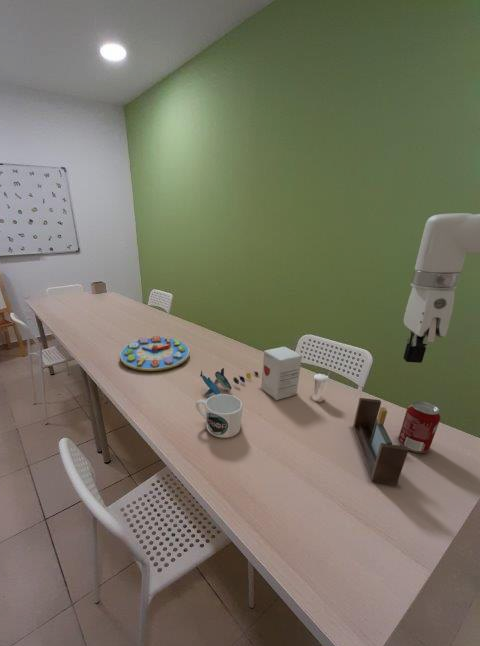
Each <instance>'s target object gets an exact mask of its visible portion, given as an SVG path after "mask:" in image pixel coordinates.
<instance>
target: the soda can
mask: <svg viewBox="0 0 480 646" xmlns="http://www.w3.org/2000/svg"><path fill="white" fill-rule="evenodd" d="M440 412H441V411H440V409H439V407H438V406H436V405H434V404H432V403H430V402H427V401H422V400H415V401H412V403H411V405H408V407H407V408H406V411H405V415H404V417H403V421H402V424H401V426H400V430H399V433H398V437H397V441H398V443H399V444H400V446H406V447H407V449H408V451H410V452H415V453H420V454H421V453H428V451H430V449H431V445H432V442H433V440H434V438H435V435H436V432H437V429H438V427H439V424H440V421H441V419H442V417H441V415H440Z"/></svg>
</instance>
